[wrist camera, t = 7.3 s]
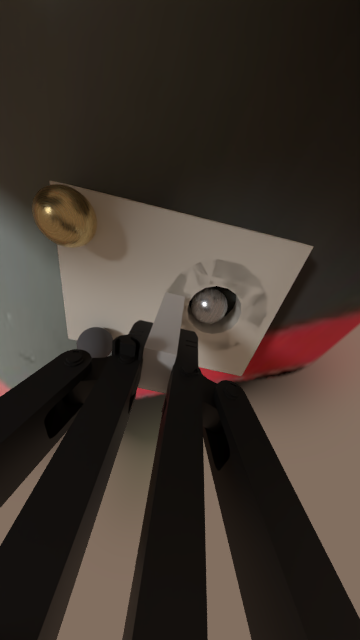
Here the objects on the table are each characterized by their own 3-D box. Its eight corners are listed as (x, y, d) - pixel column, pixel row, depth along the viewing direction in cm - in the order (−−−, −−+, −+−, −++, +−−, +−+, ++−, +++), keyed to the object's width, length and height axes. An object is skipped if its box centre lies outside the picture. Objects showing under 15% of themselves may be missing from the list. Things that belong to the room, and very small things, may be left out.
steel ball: (212, 327, 18) (183, 315, 18) (224, 297, 18) (195, 284, 18) (225, 330, 15) (189, 315, 15) (239, 294, 15) (204, 278, 15)
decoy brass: (60, 237, 14) (23, 244, 11) (54, 181, 12) (8, 172, 9) (105, 248, 14) (81, 258, 11) (106, 194, 12) (77, 189, 9)
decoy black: (88, 342, 19) (70, 364, 16) (86, 317, 17) (67, 336, 15) (117, 349, 19) (105, 371, 16) (119, 324, 17) (105, 344, 15)
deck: (81, 325, 21) (68, 338, 19) (71, 184, 14) (49, 180, 12) (237, 359, 22) (241, 376, 19) (296, 241, 15) (313, 246, 13)
